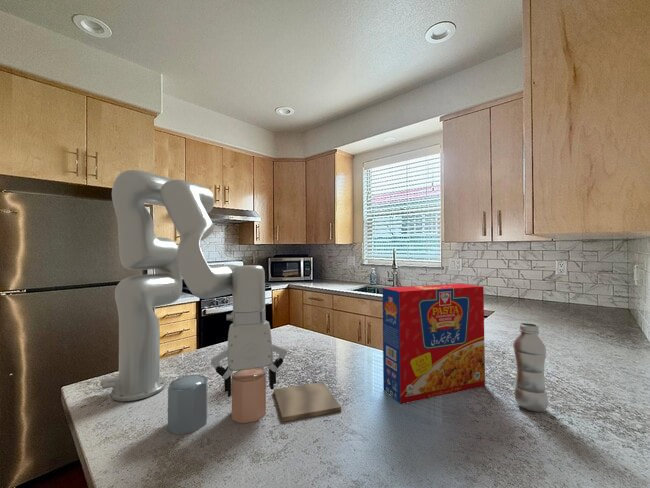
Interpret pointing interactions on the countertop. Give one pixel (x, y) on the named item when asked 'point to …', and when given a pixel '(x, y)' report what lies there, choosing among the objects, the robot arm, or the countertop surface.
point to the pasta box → (432, 340)
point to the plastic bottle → (530, 369)
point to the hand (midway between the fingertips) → (250, 390)
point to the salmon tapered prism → (248, 395)
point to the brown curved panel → (305, 401)
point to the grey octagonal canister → (187, 404)
